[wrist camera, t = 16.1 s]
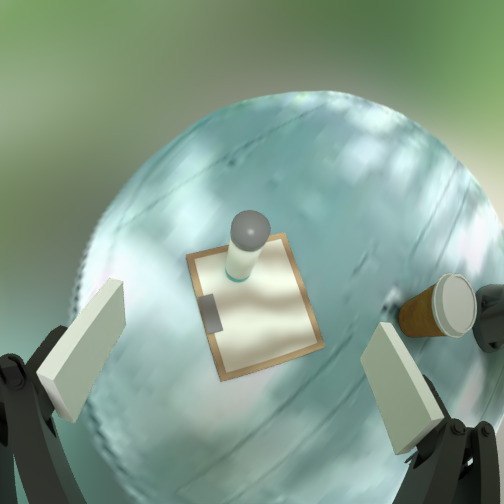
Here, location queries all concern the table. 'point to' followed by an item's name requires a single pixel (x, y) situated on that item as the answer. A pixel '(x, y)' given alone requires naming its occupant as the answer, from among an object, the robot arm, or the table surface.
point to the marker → (246, 244)
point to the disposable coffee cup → (440, 309)
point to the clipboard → (254, 310)
